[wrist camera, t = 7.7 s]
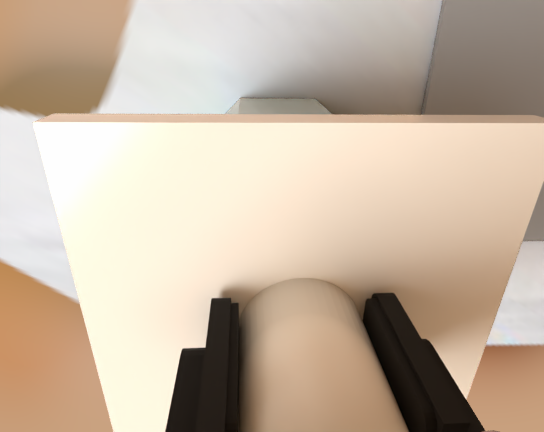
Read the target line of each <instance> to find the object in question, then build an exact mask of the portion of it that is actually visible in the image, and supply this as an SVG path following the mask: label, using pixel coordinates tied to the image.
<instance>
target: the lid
mask: <svg viewBox="0 0 544 432" xmlns="http://www.w3.org/2000/svg"><path fill="white" fill-rule="evenodd" d="M33 126H34V130H35V134H36V137H37V141H38V145H39V149H40V153H41V156H42V160H43V164H44V168H45V172H46V176H47V179H48V183H49V187H50V191H51V195H52V199H53V202H54V206H55V210H56V214H57V218H58V221H59V225H60V229H61V233H62V237H63V241H64V244H65V248H66V252H67V256H68V260H69V263H70V267H71V271H72V275H73V279H74V283H75V286H76V290H77V294H78V298H79V302H80V306H81V309H82V313H83V317H84V321H85V325H86V328H87V332H88V336H89V340H90V344H91V347H92V351H93V355H94V359H95V363H96V367H97V370H98V374H99V378H100V382H101V385H102V390H103V393H104V397H105V401H106V405H107V409H108V413H109V416H110V420H111V423H112V428H113V432H165V430H166V425H167V420H168V415H169V410H170V405H171V400H172V395H173V390H174V385H175V380H176V374H177V369H178V364H179V359H180V355H181V351H182V349H183V348H205V347H206V338H207V330H208V322H209V314H210V305H211V299H212V298H231V303H239V399H238V432H409V430H408V428H407V425H406V423H405V421H404V418H403V416H402V414H401V411H400V409H399V406H398V404H397V402H396V399H395V397H394V395H393V392H392V390H391V387H390V385H389V383H388V380H387V378H386V376H385V373H384V371H383V368H382V366H381V364H380V361H379V359H378V356H377V354H376V352H375V349H374V347H373V345H372V342H371V340H370V337H369V335H368V333H367V330H366V328H365V326H364V323H363V321H362V320H363V314H364V308H365V302H366V299H368V298H371V297H372V295H373V294H374V293H394V294H395V295H396V296H397V298H398V300H399V301H400V303H401V305H402V306H403V308H404V310H405V312H406V313H407V315H408V317H409V318H410V320H411V322H412V323H413V325H414V327H415V328H416V330H417V332H418V334H419V335H420V337H421V339H427V340H429V341H430V342H431V344H432V345H433V347H434V348H435V350H436V351H437V353H438V355H439V356H440V358H441V360H442V361H443V363H444V364H445V366H446V368H447V369H448V371H449V373H450V374H451V376H452V377H453V379H454V381H455V382H456V384H457V386H458V387H459V389H460V390H461V392H462V394H463V395H464V397H465V399H467V396H468V393H469V390H470V387H471V384H472V382H473V379H474V376H475V373H476V370H477V368H478V365H479V362H480V359H481V356H482V354H483V351H484V348H485V345H486V342H487V339H488V337H489V334H490V331H491V328H492V325H493V323H494V320H495V317H496V314H497V311H498V308H499V306H500V303H501V300H502V297H503V294H504V292H505V289H506V286H507V283H508V280H509V277H510V275H511V272H512V269H513V266H514V263H515V261H516V258H517V255H518V252H519V249H520V246H521V244H522V241H523V238H524V235H525V232H526V229H527V227H528V224H529V221H530V218H531V215H532V213H533V210H534V207H535V204H536V201H537V198H538V196H539V193H540V190H541V187H542V184H543V182H544V118H543V117H539V116H536V115H332V114H52V115H49V116H47V117H45V118H42V119H40V120H37V121H35V122H33Z"/></svg>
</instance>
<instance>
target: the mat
mask: <svg viewBox="0 0 544 432" xmlns="http://www.w3.org/2000/svg"><path fill="white" fill-rule="evenodd" d="M421 115H536V116H539V117H543V118H544V0H443V1H442V6H441V12H440V17H439V22H438V28H437V33H436V38H435V44H434V49H433V54H432V60H431V65H430V70H429V76H428V81H427V87H426V92H425V97H424V103H423V108H422V113H421ZM523 241H544V182H543V184H542V187H541V190H540V193H539V196H538V198H537V201H536V204H535V207H534V210H533V213H532V215H531V218H530V221H529V224H528V227H527V229H526V232H525V235H524V238H523Z"/></svg>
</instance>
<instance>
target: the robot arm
mask: <svg viewBox="0 0 544 432" xmlns="http://www.w3.org/2000/svg"><path fill="white" fill-rule="evenodd" d="M362 321H363V323H364V326H365V328H366V330H367V333H368V335H369V337H370V340H371V342H372V345H373V347H374V349H375V352H376V354H377V356H378V359H379V361H380V364H381V366H382V368H383V371H384V373H385V376H386V378H387V380H388V383H389V385H390V387H391V390H392V392H393V395H394V397H395V399H396V402H397V404H398V406H399V409H400V411H401V414H402V416H403V418H404V421H405V423H406V425H407V428H408V430H409V432H498V431H494V430H493V431H485V430H484V428H483V426H482V425H481V423H480V421H479V420H478V418H477V417H476V415H475V413H474V412H473V410H472V408H471V407H470V405H469V404H468V402H467V400H466V399H465V397H464V395H463V394H462V392H461V390H460V389H459V387H458V386H457V384H456V382H455V381H454V379H453V377H452V376H451V374H450V373H449V371H448V369H447V368H446V366H445V364H444V363H443V361H442V360H441V358H440V356H439V355H438V353H437V351H436V350H435V348H434V347H433V345H432V344H431V342H430V341H429V340H427V339H421V337H420V335H419V334H418V332H417V330H416V328H415V327H414V325H413V323H412V322H411V320H410V318H409V317H408V315H407V313H406V312H405V310H404V308H403V306H402V305H401V303H400V301H399V300H398V298H397V296H396V295H395V294H394V293H374V294H373V295H372V297H371V298H368V299H366V302H365V308H364V314H363V320H362ZM238 399H239V303H231V298H212V299H211V305H210V314H209V322H208V330H207V338H206V347H205V348H183V349H182V351H181V355H180V359H179V364H178V369H177V374H176V380H175V385H174V390H173V395H172V400H171V405H170V410H169V415H168V420H167V425H166V430H165V432H238Z"/></svg>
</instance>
